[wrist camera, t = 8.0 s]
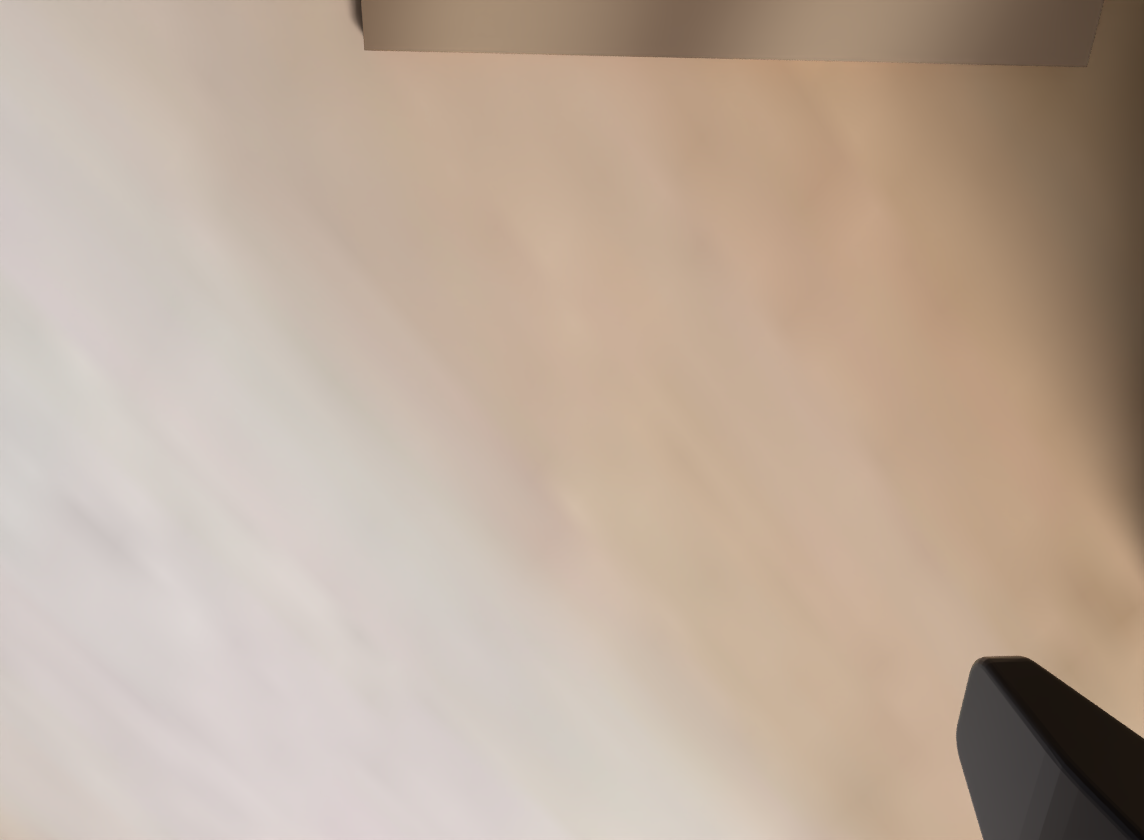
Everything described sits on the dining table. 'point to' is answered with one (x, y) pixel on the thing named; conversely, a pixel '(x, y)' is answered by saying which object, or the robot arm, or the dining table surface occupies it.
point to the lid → (746, 29)
